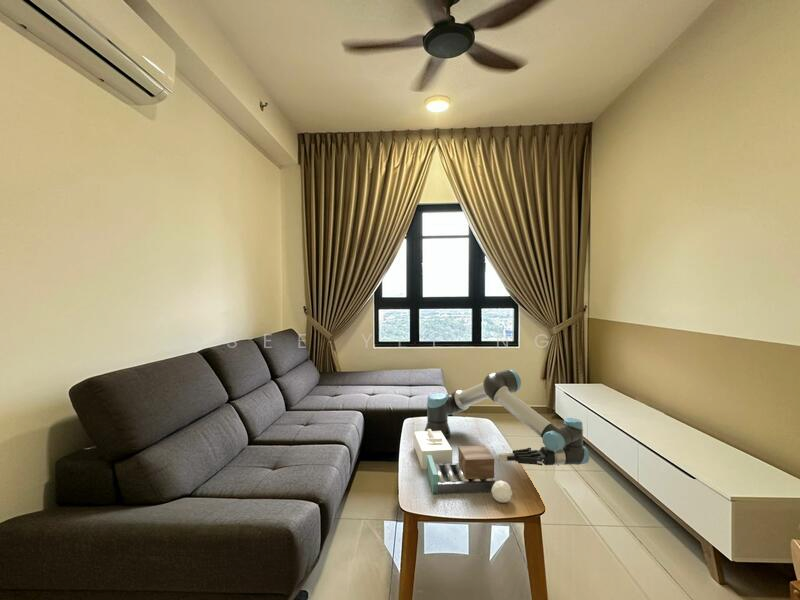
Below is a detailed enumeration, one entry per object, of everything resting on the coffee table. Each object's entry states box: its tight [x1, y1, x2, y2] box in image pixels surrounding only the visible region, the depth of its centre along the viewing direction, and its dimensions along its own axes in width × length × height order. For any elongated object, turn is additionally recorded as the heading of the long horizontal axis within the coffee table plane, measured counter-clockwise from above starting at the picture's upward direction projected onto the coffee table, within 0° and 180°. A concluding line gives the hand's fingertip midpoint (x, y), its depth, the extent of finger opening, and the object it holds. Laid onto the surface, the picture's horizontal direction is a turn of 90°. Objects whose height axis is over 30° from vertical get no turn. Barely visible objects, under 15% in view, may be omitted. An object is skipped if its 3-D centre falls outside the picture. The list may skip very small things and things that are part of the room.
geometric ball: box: [490, 480, 513, 504], centre depth 143 cm, size 8×8×8 cm
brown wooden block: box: [457, 445, 495, 480], centre depth 159 cm, size 14×12×8 cm
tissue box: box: [413, 429, 453, 470], centre depth 184 cm, size 14×25×11 cm, turn 6°
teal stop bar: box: [426, 455, 439, 495], centre depth 158 cm, size 19×2×8 cm, turn 3°
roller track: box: [426, 462, 501, 495], centre depth 159 cm, size 19×28×4 cm, turn 93°
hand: (499, 457), depth 159 cm, fingers closed
